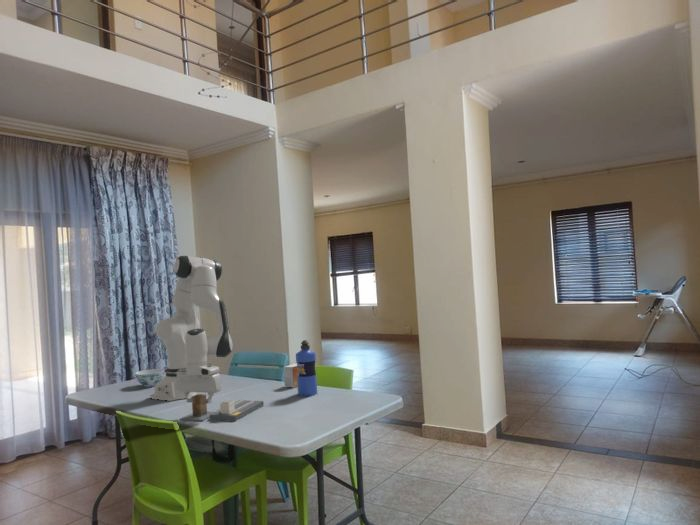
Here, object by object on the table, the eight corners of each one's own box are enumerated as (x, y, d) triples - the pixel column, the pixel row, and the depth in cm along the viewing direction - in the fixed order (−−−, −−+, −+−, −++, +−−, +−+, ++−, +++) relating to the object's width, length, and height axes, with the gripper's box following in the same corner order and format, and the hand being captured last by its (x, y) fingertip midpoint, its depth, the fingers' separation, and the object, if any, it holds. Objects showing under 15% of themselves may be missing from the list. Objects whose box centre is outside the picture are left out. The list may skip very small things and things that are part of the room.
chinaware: (170, 384, 269) (169, 370, 269) (143, 390, 258) (143, 375, 258) (156, 381, 279) (155, 367, 279) (130, 387, 267) (129, 372, 268)
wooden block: (192, 416, 201) (191, 396, 201) (198, 413, 204) (197, 394, 204) (201, 416, 199) (200, 396, 199) (207, 413, 203) (206, 394, 203)
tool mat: (179, 420, 198) (179, 418, 198) (197, 412, 209) (196, 410, 209) (202, 421, 195) (202, 419, 195) (219, 413, 205) (218, 411, 205)
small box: (293, 388, 243) (292, 367, 243) (284, 387, 246) (283, 366, 246) (303, 384, 250) (302, 364, 250) (294, 384, 253) (293, 363, 253)
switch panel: (209, 419, 196) (209, 412, 196) (239, 404, 217) (239, 398, 217) (235, 421, 192) (235, 413, 193) (263, 405, 213) (263, 399, 213)
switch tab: (220, 413, 197) (220, 402, 197) (226, 410, 201) (225, 399, 201) (229, 414, 196) (228, 402, 196) (234, 411, 199) (234, 400, 199)
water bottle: (308, 390, 237) (306, 338, 237) (321, 393, 230) (318, 339, 231) (293, 394, 230) (290, 341, 231) (306, 397, 224) (303, 342, 224)
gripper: (171, 370, 202) (173, 403, 202) (213, 371, 196) (215, 405, 195) (181, 367, 208) (183, 399, 208) (222, 367, 202) (224, 401, 201)
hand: (199, 402), depth 202 cm, fingers open, 8 cm apart
